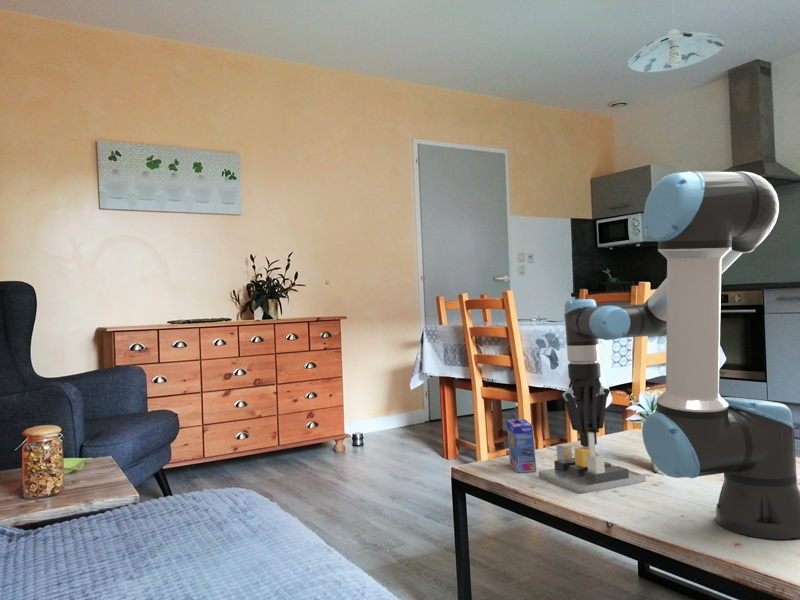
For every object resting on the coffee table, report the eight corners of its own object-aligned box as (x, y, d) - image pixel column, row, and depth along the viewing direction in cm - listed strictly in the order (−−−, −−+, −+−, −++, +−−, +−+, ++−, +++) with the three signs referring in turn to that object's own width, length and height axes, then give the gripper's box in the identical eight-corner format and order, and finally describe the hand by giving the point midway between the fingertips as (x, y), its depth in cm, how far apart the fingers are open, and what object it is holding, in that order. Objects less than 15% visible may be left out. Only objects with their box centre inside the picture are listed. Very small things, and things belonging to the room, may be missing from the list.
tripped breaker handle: (591, 466, 143) (590, 449, 144) (583, 467, 143) (582, 450, 143) (583, 463, 146) (582, 447, 146) (575, 464, 145) (574, 448, 146)
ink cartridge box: (508, 463, 164) (505, 411, 164) (528, 462, 164) (525, 409, 164) (515, 473, 154) (512, 417, 154) (537, 472, 154) (533, 415, 155)
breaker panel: (645, 481, 141) (643, 449, 141) (579, 493, 134) (577, 460, 134) (600, 466, 156) (598, 437, 156) (538, 477, 149) (537, 447, 149)
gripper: (595, 359, 152) (601, 452, 151) (552, 363, 147) (558, 459, 146) (615, 360, 145) (621, 458, 144) (570, 365, 140) (577, 466, 139)
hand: (589, 458), depth 145 cm, fingers closed
